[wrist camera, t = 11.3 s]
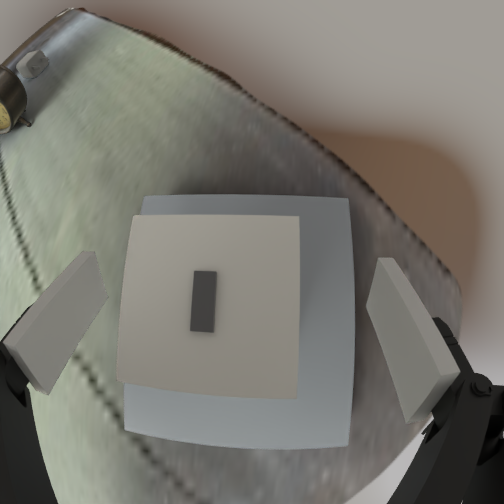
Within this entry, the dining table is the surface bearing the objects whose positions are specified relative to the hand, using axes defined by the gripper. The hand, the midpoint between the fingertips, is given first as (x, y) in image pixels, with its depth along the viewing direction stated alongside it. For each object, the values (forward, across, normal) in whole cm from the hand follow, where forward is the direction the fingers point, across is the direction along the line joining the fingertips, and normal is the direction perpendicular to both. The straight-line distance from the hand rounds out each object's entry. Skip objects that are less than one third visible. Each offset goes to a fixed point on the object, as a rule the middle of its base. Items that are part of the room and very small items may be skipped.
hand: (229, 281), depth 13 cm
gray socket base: (+4, 0, -6) cm, 8 cm away
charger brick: (+4, 0, -6) cm, 7 cm away
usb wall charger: (+31, -37, +19) cm, 52 cm away
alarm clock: (+21, -34, +10) cm, 41 cm away
